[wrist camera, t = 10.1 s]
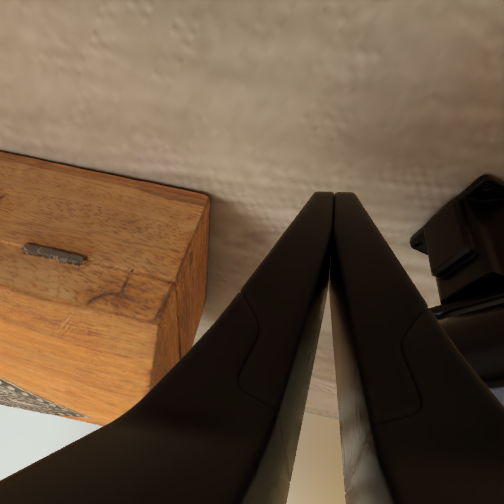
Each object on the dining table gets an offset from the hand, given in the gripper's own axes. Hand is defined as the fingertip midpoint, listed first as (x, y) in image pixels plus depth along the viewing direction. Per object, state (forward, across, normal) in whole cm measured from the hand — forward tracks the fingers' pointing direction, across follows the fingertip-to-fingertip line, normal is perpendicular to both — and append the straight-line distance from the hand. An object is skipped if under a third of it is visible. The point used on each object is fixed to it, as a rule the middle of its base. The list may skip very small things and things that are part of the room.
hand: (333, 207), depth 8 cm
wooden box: (+13, +24, +14) cm, 31 cm away
